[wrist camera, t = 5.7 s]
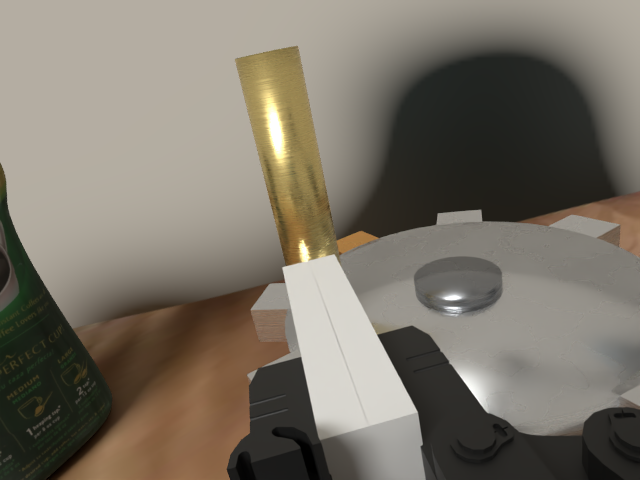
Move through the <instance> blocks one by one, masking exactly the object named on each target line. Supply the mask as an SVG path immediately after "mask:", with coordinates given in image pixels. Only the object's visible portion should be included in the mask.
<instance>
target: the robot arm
mask: <svg viewBox="0 0 640 480" xmlns="http://www.w3.org/2000/svg"><path fill="white" fill-rule="evenodd" d="M283 272H284V277H285V282H286V287H287V291H288V296H289V301H290V306H291V310H292V315H293V320H294V324H295V329H296V334H297V339H298V343H299V348H300V353H301V357H298V358H295V359H291V360H287V361H284V362H280V363H276V364H272V365H269V366H265V367H261V368H258V370H257V372H256V374H255V375H254V377H253V379H252V381H251V383H250V385H249V400H250V421H251V422H250V434H248V435H247V436H246V437H245V438H243V439H242V440H241V441H240V442H239V444H238V445H237V446H236V448H235V449H234V451H233V452H232V453H231V455H230V459H229V463H228V467H227V472H228V474H229V477H230V480H640V409H635V408H630V407H613V408H606V409H603V410H600V411H597V412H594V413H593V414H592V415H591V416H590V417H589V418H588V419H587V420H586V421H585V422H584V426H583V432H582V435H573V436H541V435H530V434H526V433H522V432H519V431H518V430H517V429H515V428H514V427H513V426H512V425H511V424H510V423H509V422H507V421H506V420H504V419H502V418H500V417H497V416H495V415H493V414H491V413H487V412H486V411H485V410H484V408H483V407H482V405H481V404H480V403H479V401H478V400H477V399H476V397H475V396H474V395H473V393H472V392H471V390H470V389H469V388H468V386H467V385H466V384H465V382H464V381H463V380H462V378H461V377H460V375H459V374H458V373H457V371H456V370H455V369H454V367H453V366H452V365H451V364H450V363H449V360H448V359H447V358H446V356H445V355H444V354H443V352H441V351H440V348H439V347H438V346H437V344H436V343H435V341H434V340H433V339H432V337H431V336H430V335H429V334H427V333H425V332H423V331H422V330H420V329H418V328H416V327H414V326H412V325H411V326H408V327H404V328H400V329H396V330H393V331H389V332H385V333H382V334H378V335H377V334H376V332H375V330H374V328H373V326H372V324H371V323H370V321H369V319H368V317H367V315H366V313H365V311H364V309H363V307H362V305H361V304H360V302H359V300H358V298H357V296H356V294H355V292H354V290H353V288H352V287H351V285H350V283H349V281H348V279H347V277H346V275H345V273H344V271H343V269H342V268H341V266H340V264H339V262H338V260H337V258H336V256H335V254H333V255H329V256H325V257H321V258H317V259H314V260H310V261H306V262H302V263H298V264H294V265H290V266H286V267H283Z"/></svg>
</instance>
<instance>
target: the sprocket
mask: <svg viewBox="0 0 640 480" xmlns="http://www.w3.org/2000/svg"><path fill="white" fill-rule="evenodd" d="M235 62H236V66H237V70H238V74H239V78H240V82H241V86H242V90H243V94H244V98H245V102H246V106H247V110H248V114H249V118H250V122H251V126H252V131H253V135H254V139H255V143H256V146H257V151H258V155H259V159H260V163H261V167H262V171H263V175H264V179H265V183H266V187H267V191H268V195H269V199H270V203H271V207H272V211H273V215H274V219H275V223H276V227H277V231H278V235H279V239H280V243H281V248H282V251H283V256H284V259H285V263H286V266H290V265H294V264H298V263H302V262H306V261H310V260H314V259H317V258H321V257H325V256H329V255H333V254H335V256H336V258H337V260H338V262H339V264H340V266H341V268H342V269H343V271H344V273H345V275H346V277H347V279H348V281H349V283H350V285H351V287H352V288H353V290H354V292H355V294H356V296H357V298H358V300H359V302H360V304H361V305H362V307H363V309H364V311H365V313H366V315H367V317H368V319H369V321H370V323H371V324H372V326H373V328H374V330H375V332H376V334H377V335H378V334H382V333H385V332H389V331H393V330H396V329H400V328H404V327H408V326H411V325H412V326H414V327H416V328H418V329H420V330H422V331H423V332H425V333H427V334H429V335H430V336H431V337H432V339H433V340H434V341H435V343H436V344H437V346H438V347H439V348H440V351H441V352H443V354H444V355H445V356H446V358H447V359H448V360H449V363H450V364H451V365H452V366H453V367H454V369H455V370H456V371H457V373H458V374H459V375H460V377H461V378H462V380H463V381H464V382H465V384H466V385H467V386H468V388H469V389H470V390H471V392H472V393H473V395H474V396H475V397H476V399H477V400H478V401H479V403H480V404H481V405H482V407H483V408H484V410H485V411H486V412H487V413H491V414H493V415H495V416H497V417H500V418H502V419H504V420H506V421H507V422H509V423H510V424H511V425H512V426H513V427H514V428H515V429H517V430H518V431H519V432H522V433H526V434H530V435H541V436H573V435H582V432H583V426H584V422H585V421H586V420H587V419H588V418H589V417H590V416H591V415H592V414H593V413H594V412H597V411H600V410H603V409H606V408H613V407H630V408H635V409H640V258H639V257H637V256H635V255H634V254H632V253H630V252H628V251H626V250H624V249H622V248H620V247H619V244H620V224H615V223H610V222H605V221H600V220H596V219H591V218H586V217H581V216H576V215H570V216H568V217H566V218H564V219H562V220H560V221H558V222H556V223H554V224H552V225H550V226H543V225H535V224H527V223H512V222H482V216H481V215H482V214H481V210H474V211H461V212H451V213H450V212H449V213H438V218H437V225H435V226H429V227H423V228H417V229H413V230H408V231H404V232H399V233H396V234H392V235H388V236H385V237H382V238H377V237H375V236H372V235H370V234H367V233H365V232H362V231H360V232H357V233H355V234H352V235H350V236H347V237H345V238H342V239H340V240H337V241H336V236H335V231H334V226H333V220H332V216H331V210H330V205H329V201H328V196H327V190H326V185H325V180H324V175H323V170H322V165H321V160H320V155H319V150H318V145H317V140H316V135H315V129H314V124H313V120H312V114H311V109H310V104H309V99H308V94H307V89H306V84H305V79H304V74H303V69H302V64H301V59H300V54H299V49H298V46H294V47H288V48H283V49H278V50H273V51H269V52H263V53H259V54H254V55H250V56H246V57H241V58H237V59H235ZM251 314H252V317H253V321H254V324H255V328H256V331H257V334H258V338H259V341H281V342H287V343H288V347H289V350H290V354H288V355H286V356H284V357H282V358H280V359H278V360H275V361H273V362H271V363H269V364H267V365H265V366H269V365H272V364H276V363H280V362H284V361H287V360H291V359H295V358H298V357H301V353H300V348H299V343H298V339H297V334H296V329H295V324H294V320H293V315H292V310H291V306H290V301H289V296H288V291H287V287H286V283H277V284H269V285H268V287H267V288H266V290H265V291H264V292H263V294H262V295H261V296H260V298H259V299H258V300H257V302H256V303H255V304H254V306H253V307H252V309H251ZM265 366H263V367H265ZM257 370H258V369H257ZM257 370H255V371H253V372H251V373H249V374H247V377H248V380H249V383H251V381H252V379H253V377H254V375H255V374H256V372H257Z"/></svg>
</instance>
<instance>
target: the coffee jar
mask: <svg viewBox="0 0 640 480" xmlns="http://www.w3.org/2000/svg"><path fill="white" fill-rule="evenodd" d="M111 406H112V394H111V391H110V389H109V387H108V385H107V383H106V381H105V379H104V378H103V376H102V374H101V372H100V371H99V369H98V367H97V366H96V364H95V362H94V361H93V359H92V358H91V356H90V355H89V353H88V351H87V350H86V348H85V347H84V345H83V344H82V342H81V341H80V339H79V338H78V336H77V335H76V333H75V332H74V331H73V329H72V328H71V326H70V325H69V323H68V322H67V320H66V318H65V317H64V315H63V314H62V312H61V311H60V309H59V307H58V306H57V304H56V303H55V301H54V300H53V298H52V296H51V295H50V293H49V291H48V290H47V288H46V287H45V285H44V283H43V281H42V280H41V278H40V276H39V275H38V273H37V271H36V270H35V268H34V266H33V264H32V263H31V261H30V259H29V257H28V255H27V253H26V251H25V249H24V247H23V245H22V243H21V242H20V239H19V237H18V235H17V233H16V231H15V228H14V225H13V223H12V220H11V217H10V215H9V210H8V205H7V192H6V178H5V174H4V171H3V168H2V165H1V163H0V480H45V479H46V478H47V477H49V476H50V475H51V474H52V473H53V472H54V471H55V470H57V469H58V468H59V467H60V466H61V465H62V464H63V463H64V462H65V461H67V460H68V459H69V458H70V457H71V456H72V455H73V454H74V453H75V452H76V451H77V450H78V449H79V448H81V447H82V446H83V445H84V444H85V443H86V442H87V441H88V440H89V439H90V438H91V437H92V436H93V435H94V433H95V432H96V431H97V430H98V429H99V428H100V427H101V426H102V425H103V423H104V422H105V420H106V419H107V417H108V415H109V413H110V410H111Z"/></svg>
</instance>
